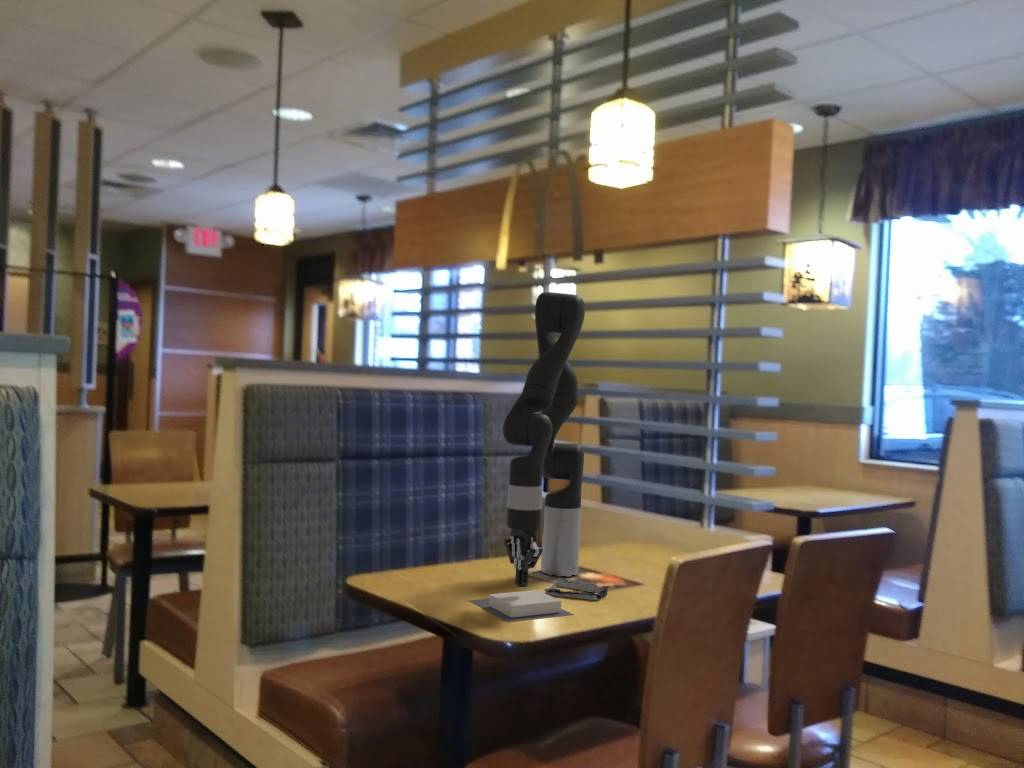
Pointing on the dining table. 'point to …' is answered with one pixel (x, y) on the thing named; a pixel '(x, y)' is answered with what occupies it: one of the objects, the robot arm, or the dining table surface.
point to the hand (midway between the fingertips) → (521, 586)
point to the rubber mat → (485, 605)
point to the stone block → (524, 603)
